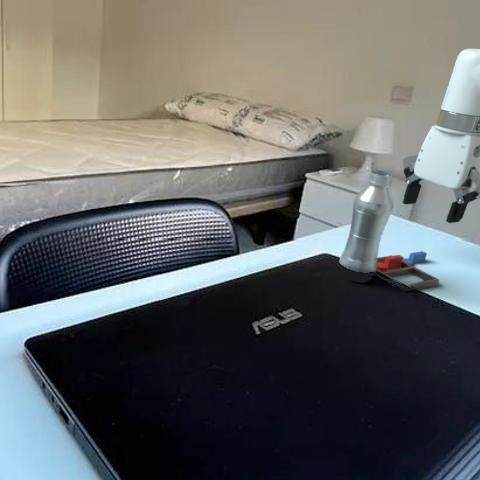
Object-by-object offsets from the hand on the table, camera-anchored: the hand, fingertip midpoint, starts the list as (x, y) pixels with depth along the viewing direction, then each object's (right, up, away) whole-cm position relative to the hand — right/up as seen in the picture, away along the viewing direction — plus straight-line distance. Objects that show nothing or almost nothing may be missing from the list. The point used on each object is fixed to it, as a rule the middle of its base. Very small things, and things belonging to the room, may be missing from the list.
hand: (429, 212), depth 96 cm
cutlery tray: (-8, -12, -3) cm, 15 cm away
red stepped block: (-9, -11, -1) cm, 14 cm away
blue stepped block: (-2, -10, +3) cm, 11 cm away
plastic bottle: (-17, -13, -5) cm, 21 cm away
